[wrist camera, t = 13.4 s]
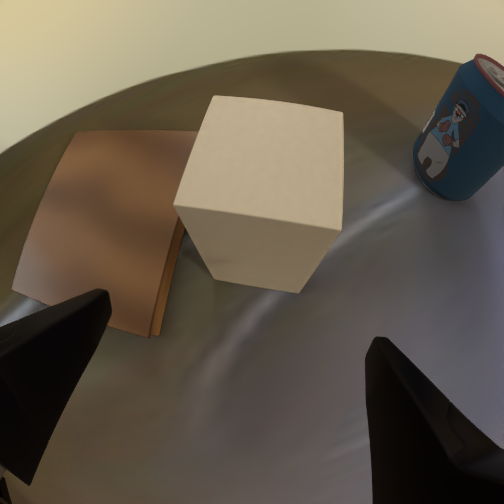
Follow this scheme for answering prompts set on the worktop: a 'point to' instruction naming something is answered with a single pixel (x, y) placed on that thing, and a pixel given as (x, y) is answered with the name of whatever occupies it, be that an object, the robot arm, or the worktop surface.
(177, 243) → the wooden base plate
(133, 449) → the worktop surface
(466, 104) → the soda can
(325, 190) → the cream box
